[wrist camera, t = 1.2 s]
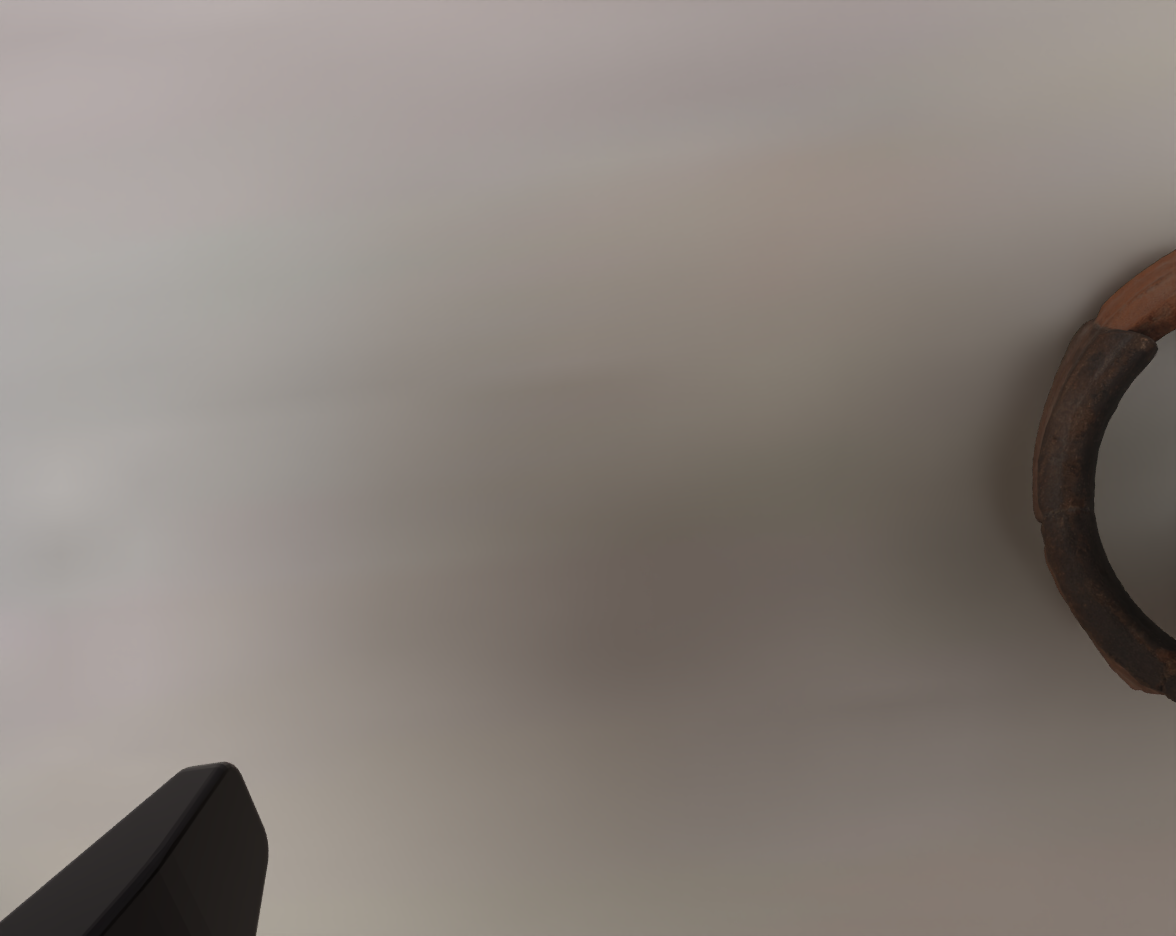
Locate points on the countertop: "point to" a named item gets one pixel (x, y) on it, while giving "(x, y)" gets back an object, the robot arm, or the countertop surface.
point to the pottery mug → (1068, 464)
